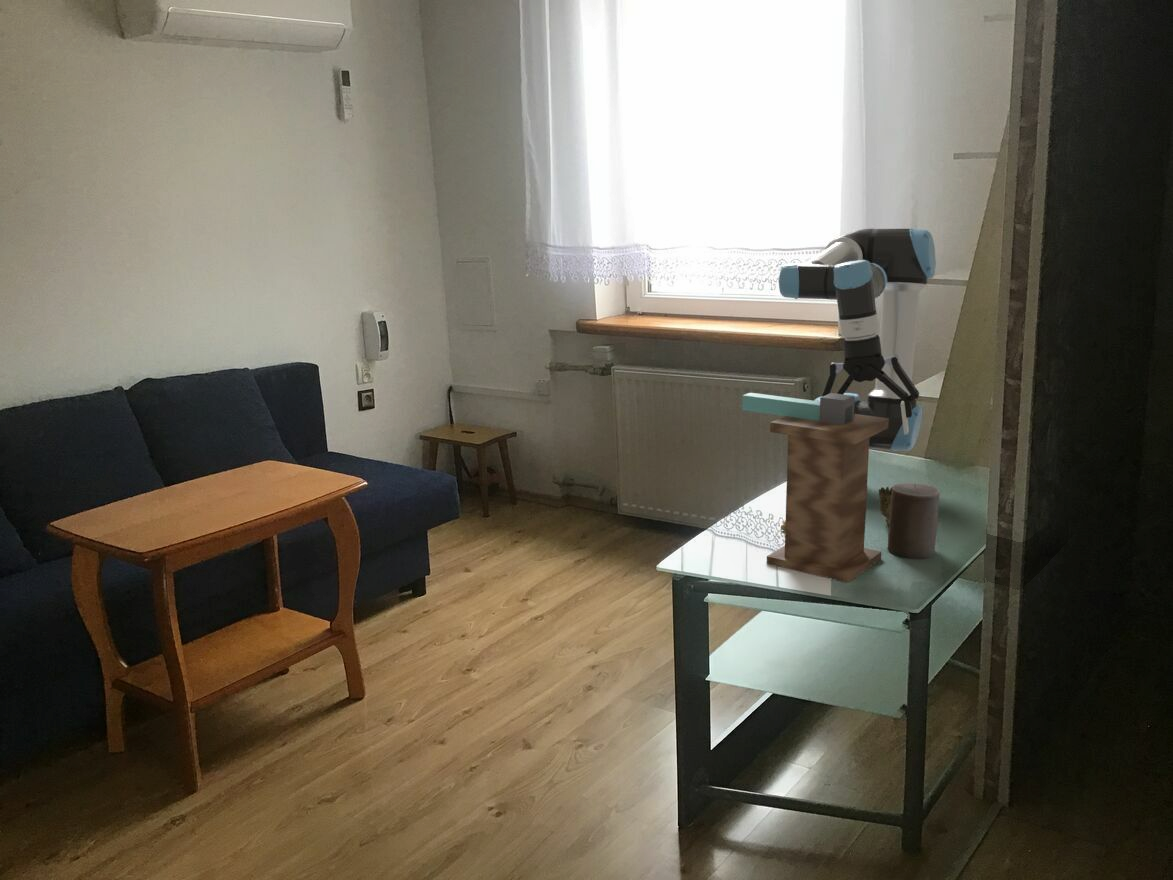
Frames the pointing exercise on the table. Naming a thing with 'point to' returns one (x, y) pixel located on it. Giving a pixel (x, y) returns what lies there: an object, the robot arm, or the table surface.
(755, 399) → the hammer
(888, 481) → the table surface
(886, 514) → the cup
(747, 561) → the table surface
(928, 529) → the pillar candle
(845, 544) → the shelf stand
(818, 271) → the robot arm
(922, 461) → the table surface
